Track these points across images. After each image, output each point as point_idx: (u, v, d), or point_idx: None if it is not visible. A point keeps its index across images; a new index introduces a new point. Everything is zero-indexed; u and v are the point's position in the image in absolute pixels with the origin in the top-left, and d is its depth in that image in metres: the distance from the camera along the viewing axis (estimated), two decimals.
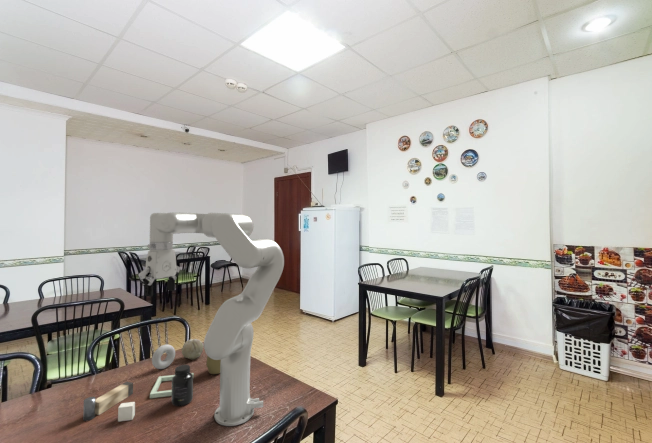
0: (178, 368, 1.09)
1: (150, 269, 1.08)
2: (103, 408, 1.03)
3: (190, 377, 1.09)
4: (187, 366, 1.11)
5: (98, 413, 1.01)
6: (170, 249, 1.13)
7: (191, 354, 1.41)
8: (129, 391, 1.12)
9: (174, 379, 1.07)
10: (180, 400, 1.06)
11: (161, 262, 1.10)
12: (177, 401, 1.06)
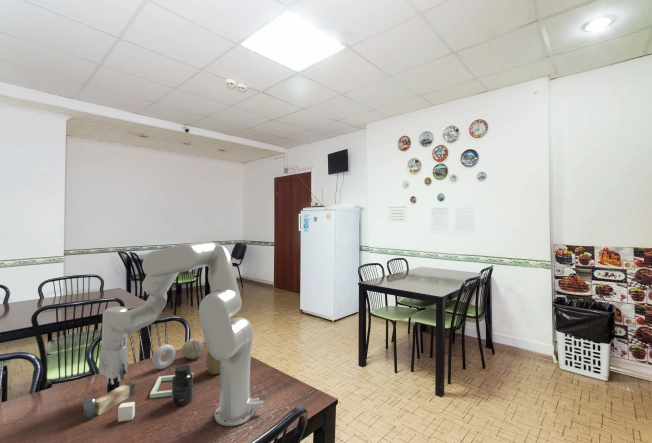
0: (178, 368, 1.09)
1: None
2: (104, 408, 1.03)
3: (190, 377, 1.09)
4: (187, 366, 1.11)
5: (98, 413, 1.01)
6: (104, 349, 1.07)
7: (191, 354, 1.41)
8: (130, 391, 1.12)
9: (174, 379, 1.07)
10: (180, 400, 1.06)
11: (102, 358, 1.10)
12: (177, 401, 1.06)
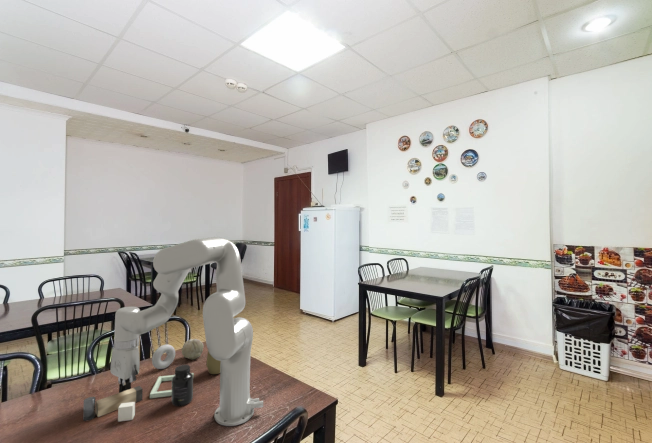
0: (178, 368, 1.09)
1: None
2: (104, 411, 1.01)
3: (190, 377, 1.09)
4: (187, 366, 1.11)
5: (98, 415, 1.00)
6: (117, 349, 1.07)
7: (191, 354, 1.41)
8: (137, 397, 1.09)
9: (174, 379, 1.07)
10: (180, 400, 1.06)
11: (114, 359, 1.09)
12: (177, 401, 1.06)
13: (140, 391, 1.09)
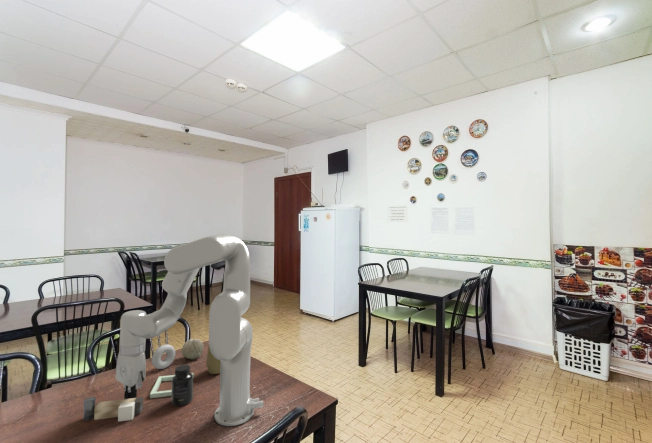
0: (178, 368, 1.09)
1: None
2: (100, 415, 0.99)
3: (190, 377, 1.09)
4: (187, 366, 1.11)
5: None
6: (122, 355, 1.02)
7: (191, 354, 1.41)
8: (135, 409, 1.02)
9: (174, 379, 1.07)
10: (180, 400, 1.06)
11: (119, 364, 1.04)
12: (177, 401, 1.06)
13: (138, 404, 1.02)
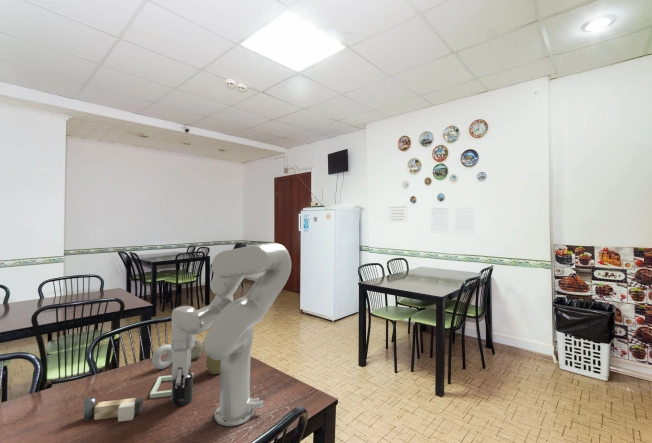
0: None
1: None
2: (100, 415, 0.99)
3: (190, 377, 1.09)
4: None
5: None
6: (171, 346, 1.08)
7: (191, 354, 1.41)
8: None
9: (174, 379, 1.07)
10: (180, 400, 1.07)
11: None
12: (177, 401, 1.06)
13: (137, 404, 1.02)
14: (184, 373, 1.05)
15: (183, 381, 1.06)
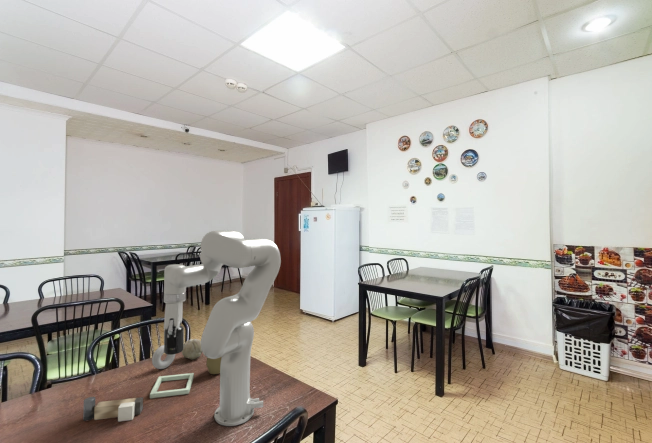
0: None
1: None
2: (100, 415, 0.99)
3: (181, 329, 1.18)
4: None
5: None
6: (164, 300, 1.17)
7: (191, 354, 1.41)
8: None
9: (166, 330, 1.16)
10: (172, 349, 1.16)
11: None
12: (169, 350, 1.16)
13: (137, 404, 1.02)
14: (175, 323, 1.14)
15: (174, 331, 1.15)
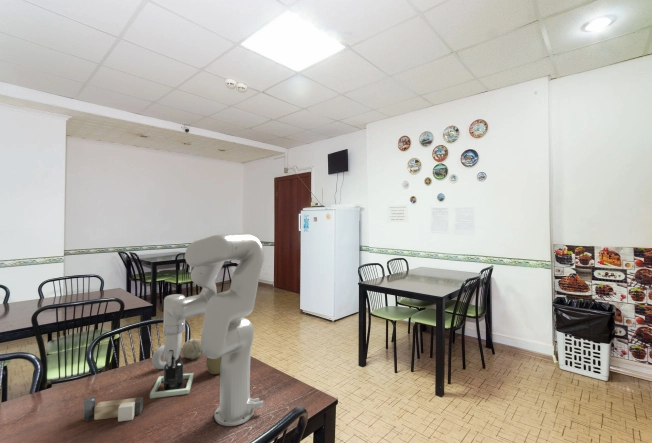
0: None
1: None
2: (100, 415, 0.99)
3: (180, 365, 1.18)
4: None
5: None
6: (163, 331, 1.17)
7: (191, 354, 1.41)
8: None
9: (165, 366, 1.16)
10: (171, 386, 1.15)
11: None
12: (168, 387, 1.15)
13: (137, 404, 1.02)
14: (175, 355, 1.14)
15: (174, 362, 1.14)
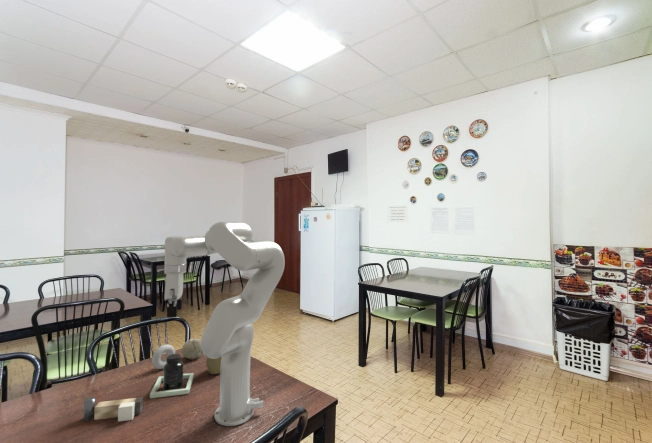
0: (169, 356, 1.18)
1: None
2: (100, 415, 0.99)
3: (180, 365, 1.18)
4: (178, 355, 1.19)
5: None
6: None
7: (191, 354, 1.41)
8: None
9: (166, 366, 1.16)
10: (171, 386, 1.15)
11: None
12: (168, 387, 1.15)
13: (137, 404, 1.02)
14: (176, 294, 1.14)
15: (175, 300, 1.14)
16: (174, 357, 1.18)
